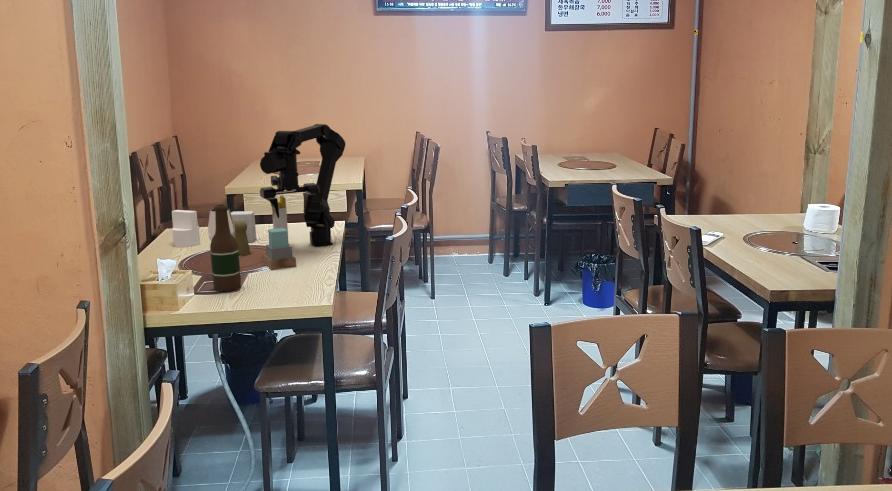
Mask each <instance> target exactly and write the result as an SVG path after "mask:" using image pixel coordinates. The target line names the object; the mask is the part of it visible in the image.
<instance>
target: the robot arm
mask: <svg viewBox="0 0 892 491" xmlns="http://www.w3.org/2000/svg"><path fill="white" fill-rule="evenodd" d="M314 139H315V142H316V143H317V144H318V145H319V152H320V156H321V162H320V168H319V171H318V176H317V180H316V183H315V182H310V183H307V182H306V183H303V186H300V184H299V175H300V174H299V173H298V161H297V155H300V154H301V151H300V150H298V149H297V148H299V147H300V146H302V143H304V142H307V141H311V140H314ZM270 144H271V145H270V146H269V150H268V151H265V152H264V153H263V154H264V156H263V157H262V158H261V159H260V162H259V166H260V170H261V171H262V173H264V174H266V175H270V174H274V173H278V175H271V176H270V184H271V185H270V186H269V187H268V186H267V187H261V188H260V189H259V196H260V197H261V198H263V199H265V201H268V202H269V203H270V206H271V205H272V207H273V209H274V211H275V213H276V216H277V218H279V208H278V200H279V199H278V198H277V197H276V196H278V195H279V196H280V195H288V194H295V193H296V194H297V193H302V195H303V218H304V222H305V225H306V228H310V231H309V244H311V245H312V246H314V247H323V246H331V245H333V244H334V243H333V242H332V235H331V234H332V230H331V229H333V228H335V223H336V220H335V219H334V218H333V217H332V215H331V214H330V212H331V211H330V210H331V208H330V205H329V202H328V201H329V200H328V199H329V195H330V190H331V186H332V181H333V177H334V174H335V168H336V164H337V161H339V159H340V158H342V156H343V154H344V150H345V148H346V140H345V139H344V138H343V136H342V135H340V133H338V132H336V131H335V130H334V129H331V127H330V126H329V125H328V124H326V123H324V124H322V123H320V124H319V123H315V124H314V125H311V126H307V127H303V128H299V129H296V130H278V131H276V132H275V134H274V136H273V139H272V141H271V143H270ZM274 186H276V188H275V187H274ZM272 207H271V208H272Z"/></svg>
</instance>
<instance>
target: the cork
mask: <svg viewBox="0 0 892 491" xmlns="http://www.w3.org/2000/svg"><path fill="white" fill-rule="evenodd" d="M234 227H235V240H236V242H237V244H238V251H239V257H243V256H249V255H251V249H250V244H249V242H248V239H247V234H246V230H247V224H246V223H245V222H242V221H238V222H234ZM248 254H249V255H248Z"/></svg>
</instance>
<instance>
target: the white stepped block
mask: <svg viewBox="0 0 892 491" xmlns="http://www.w3.org/2000/svg"><path fill="white" fill-rule="evenodd" d="M197 212H198V211H197V210H188V209H187V210H185V209H184V210H183V209H174V210H172V211H171V218H172V219H171V221H172V228H171V231H172V243H173V246H174V247H175V248H191V247H195V246H199V245H201V237H200V236H201V234H200V226H199V224H198V223H199V222H198V214H197Z"/></svg>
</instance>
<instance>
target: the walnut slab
mask: <svg viewBox="0 0 892 491" xmlns="http://www.w3.org/2000/svg"><path fill="white" fill-rule="evenodd" d="M263 259H264V260H263V261H264V262H263V263H265V264H266V265H267V266H268V267H269V268H268V267H267V266H266V265H265V264H264V265H265V266H266V267H267V268H268V270H270V271H274V270H275V271H276V270H283V269H289V268H297V257H296V256H295V255H293V258H285V259H277V260H271V259H270V258H269V257H268V256H267V254H264V255H263Z"/></svg>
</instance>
